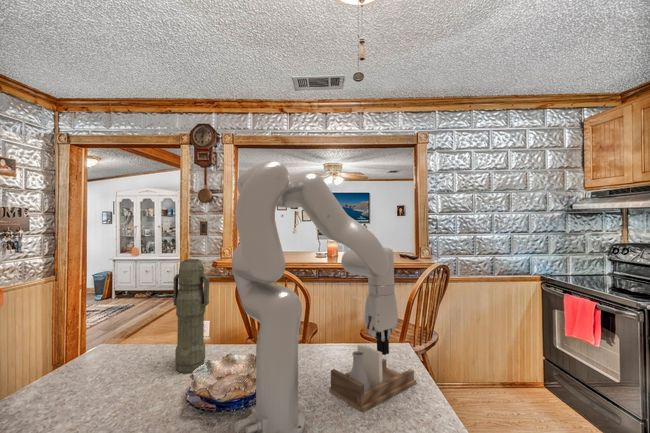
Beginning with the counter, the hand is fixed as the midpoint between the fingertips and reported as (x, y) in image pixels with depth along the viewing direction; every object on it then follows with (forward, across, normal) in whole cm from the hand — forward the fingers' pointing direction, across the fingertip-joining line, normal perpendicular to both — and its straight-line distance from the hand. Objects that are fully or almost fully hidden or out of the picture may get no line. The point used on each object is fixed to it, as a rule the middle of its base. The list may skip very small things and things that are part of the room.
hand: (383, 353), depth 91 cm
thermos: (+8, +40, -47) cm, 62 cm away
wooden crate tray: (+8, +4, 0) cm, 10 cm away
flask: (+8, +10, 0) cm, 13 cm away
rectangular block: (+7, +6, 0) cm, 9 cm away
